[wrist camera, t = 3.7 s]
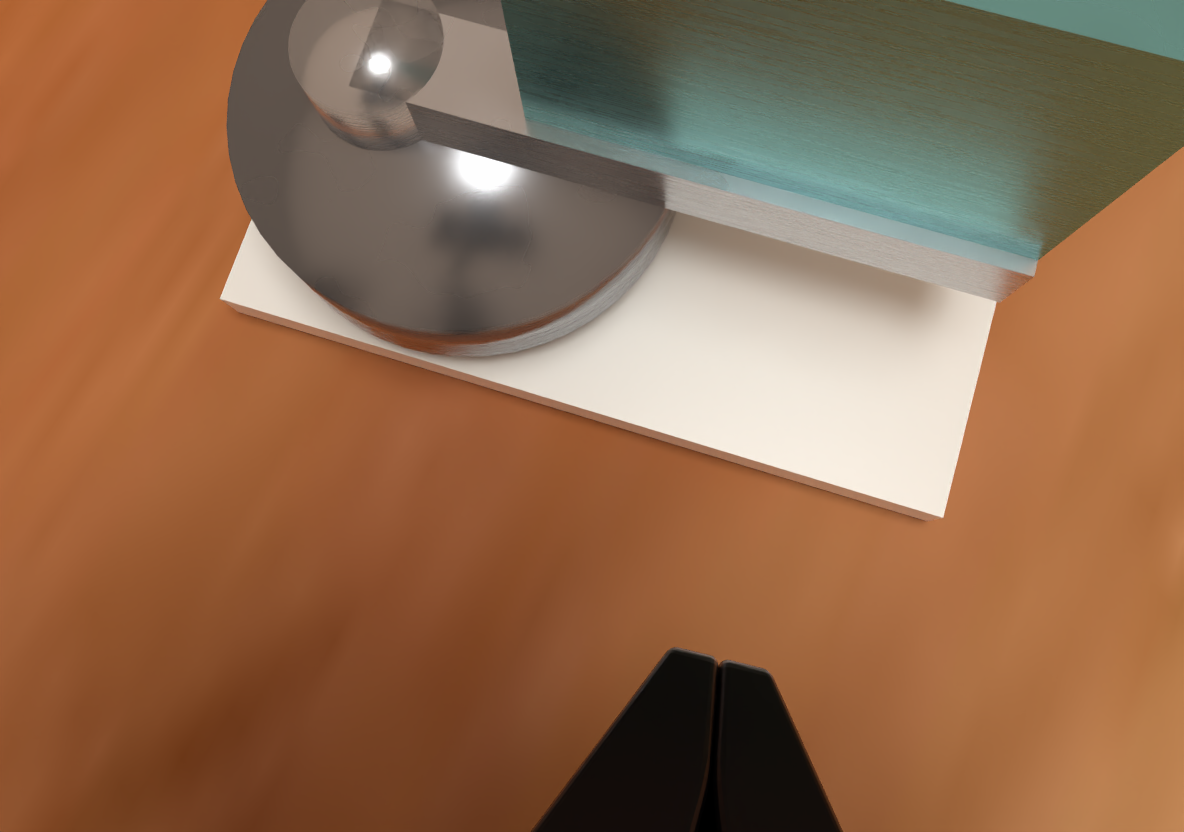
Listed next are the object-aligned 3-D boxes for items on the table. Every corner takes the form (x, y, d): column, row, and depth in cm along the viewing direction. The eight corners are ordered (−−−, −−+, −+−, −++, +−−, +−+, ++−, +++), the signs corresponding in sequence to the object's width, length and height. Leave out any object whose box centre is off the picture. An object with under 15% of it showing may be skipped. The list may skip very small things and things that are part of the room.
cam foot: (203, 287, 19) (-144, 38, 11) (350, -79, 21) (153, -563, 12) (916, 502, 18) (1196, 422, 9) (1019, 96, 19) (1343, -303, 11)
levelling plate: (198, 300, 21) (129, 253, 18) (382, -157, 23) (346, -265, 20) (926, 521, 20) (980, 509, 17) (1053, 14, 22) (1121, -76, 19)
